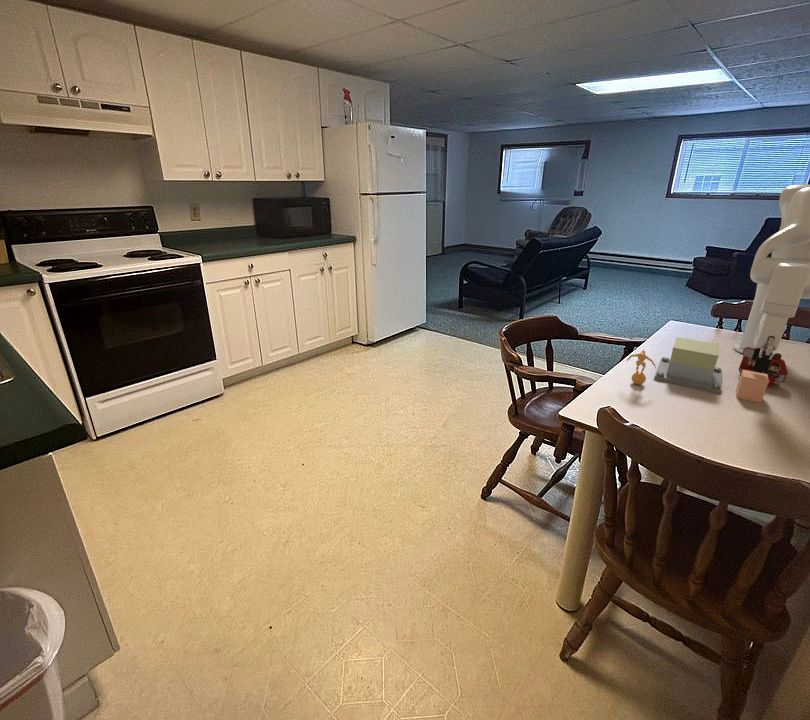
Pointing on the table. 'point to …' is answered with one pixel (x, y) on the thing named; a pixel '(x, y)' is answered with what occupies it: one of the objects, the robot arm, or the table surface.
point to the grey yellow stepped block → (692, 365)
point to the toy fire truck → (773, 368)
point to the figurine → (638, 376)
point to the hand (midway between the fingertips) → (758, 365)
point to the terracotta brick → (752, 386)
